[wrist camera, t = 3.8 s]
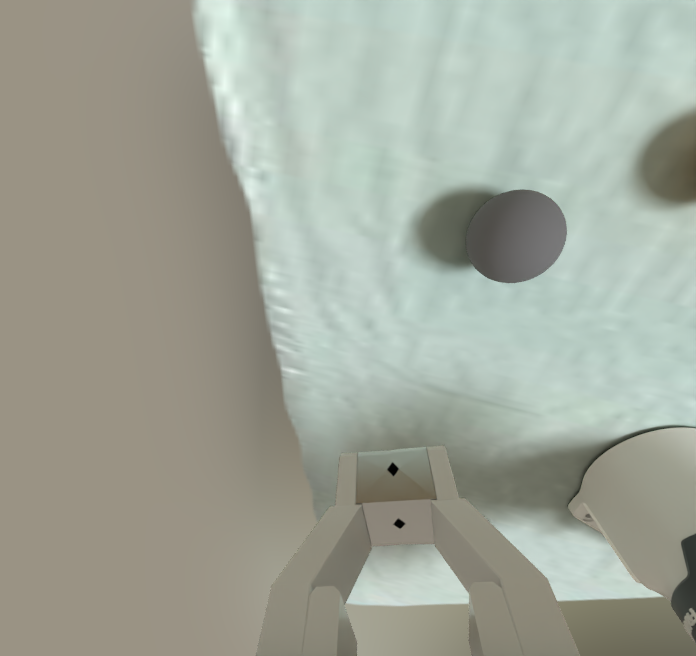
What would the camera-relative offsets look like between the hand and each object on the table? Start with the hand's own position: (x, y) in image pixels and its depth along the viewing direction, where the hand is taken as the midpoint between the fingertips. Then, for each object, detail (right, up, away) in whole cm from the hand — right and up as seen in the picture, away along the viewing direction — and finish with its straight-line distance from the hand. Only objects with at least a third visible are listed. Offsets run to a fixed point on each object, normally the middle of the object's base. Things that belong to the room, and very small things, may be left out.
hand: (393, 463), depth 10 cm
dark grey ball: (+10, +10, +12) cm, 19 cm away
